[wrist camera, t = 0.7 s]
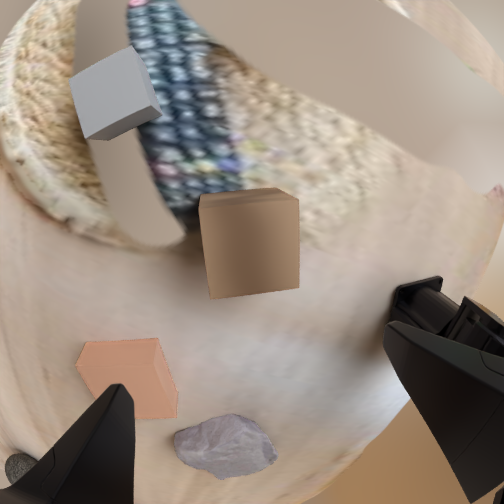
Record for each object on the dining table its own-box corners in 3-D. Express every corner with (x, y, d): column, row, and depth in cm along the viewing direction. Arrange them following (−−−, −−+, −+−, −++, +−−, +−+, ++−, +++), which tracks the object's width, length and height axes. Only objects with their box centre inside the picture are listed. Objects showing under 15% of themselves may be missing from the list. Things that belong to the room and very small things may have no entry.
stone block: (234, 394, 27) (164, 433, 26) (249, 425, 23) (171, 464, 21) (277, 432, 32) (219, 463, 30) (292, 456, 28) (229, 488, 26)
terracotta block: (158, 335, 21) (153, 363, 18) (178, 390, 24) (177, 417, 20) (87, 340, 20) (75, 365, 17) (114, 392, 23) (108, 417, 20)
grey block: (146, 65, 14) (131, 45, 10) (163, 115, 15) (150, 105, 12) (93, 91, 14) (68, 79, 10) (109, 140, 15) (85, 138, 12)
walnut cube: (275, 187, 18) (299, 199, 14) (278, 256, 20) (299, 287, 15) (200, 194, 18) (198, 208, 13) (208, 264, 19) (210, 299, 15)
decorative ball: (38, 453, 27) (27, 492, 17) (60, 475, 30) (53, 510, 21) (3, 439, 25) (-9, 473, 16) (26, 462, 28) (17, 494, 19)
